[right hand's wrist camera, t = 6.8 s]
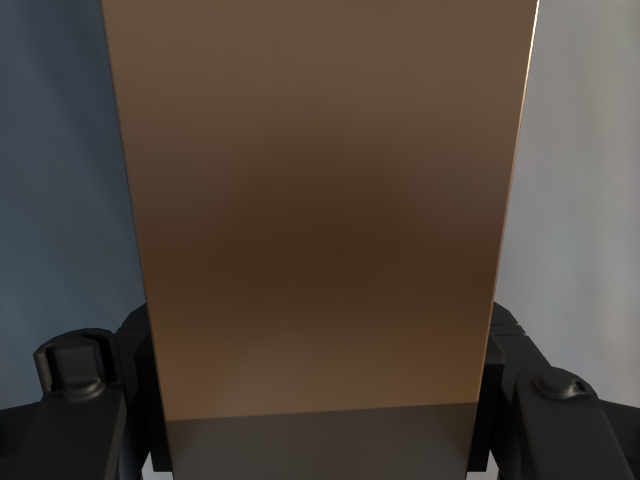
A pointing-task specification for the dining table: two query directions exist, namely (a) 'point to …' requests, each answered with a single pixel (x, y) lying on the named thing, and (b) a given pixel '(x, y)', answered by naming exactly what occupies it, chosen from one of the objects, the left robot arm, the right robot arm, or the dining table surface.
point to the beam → (319, 223)
